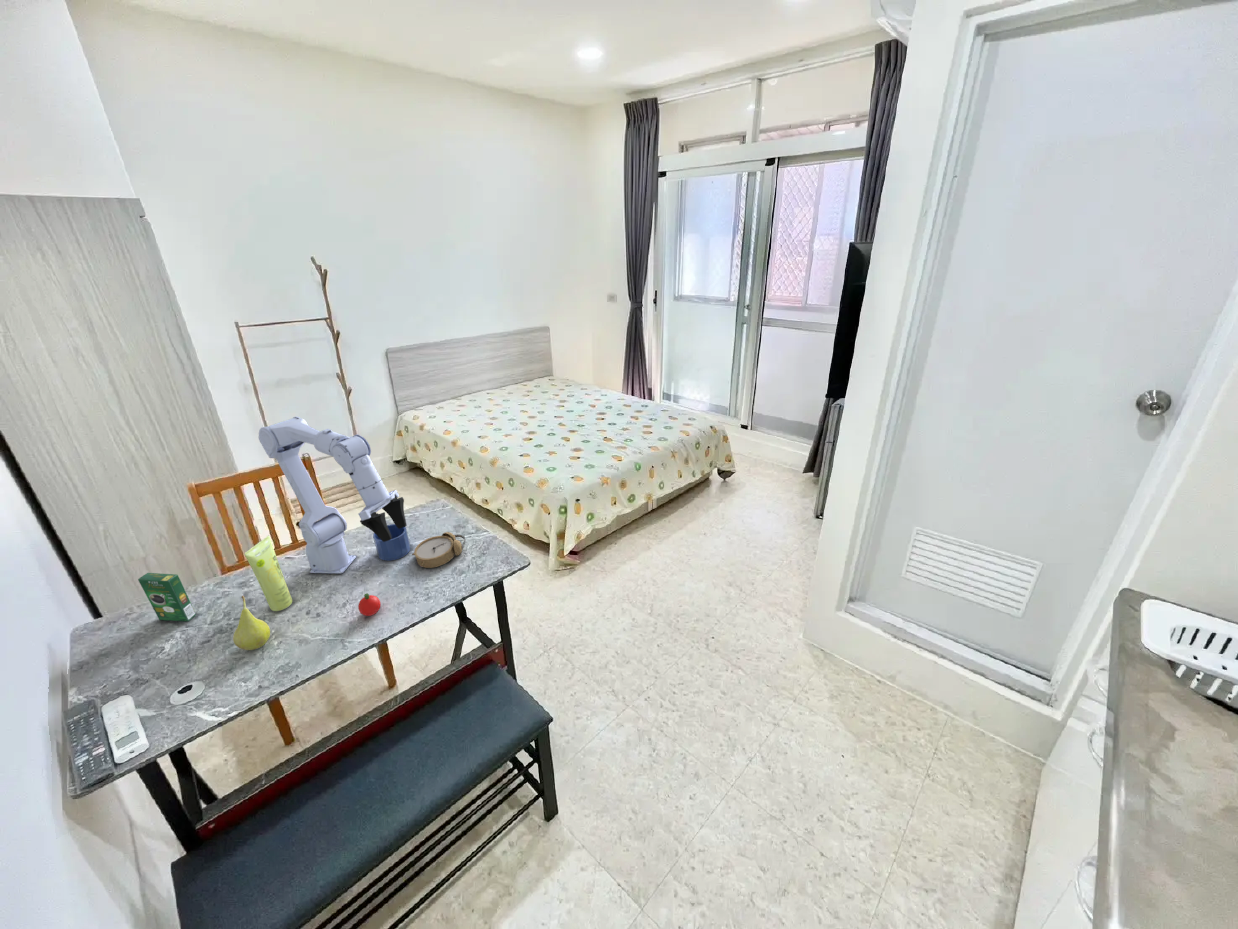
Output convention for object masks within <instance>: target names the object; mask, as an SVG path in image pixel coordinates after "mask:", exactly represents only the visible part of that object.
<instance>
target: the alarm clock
mask: <svg viewBox="0 0 1238 929" xmlns="http://www.w3.org/2000/svg"><path fill="white" fill-rule="evenodd" d="M457 538H459V539H460V538H461V539H463V542H462V543H461V541H460V540H459V539H457ZM466 543H467V541H466V537H465V536H464V535H463V534H453V532H450V531H445V532H442V534H441V535H436V536H435V535H434V536H430V537H428V538H426V539H424V540H422V541H421V542H419V544H417V545H416V547H415V548H414V551H413V553H411V556H414V557H415V559H416V562H417V565H418V566H420V567H422V568H425V569H432V568H433V569H434V568H437V567H440V566H443V565H445V564H447V563H448V562H450V561H451V560H452V559H453V558H454V557H455V556H459V555H461V554H462V552H463V549H464V548H465V545H466Z"/></svg>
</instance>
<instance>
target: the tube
mask: <svg viewBox="0 0 1238 929" xmlns="http://www.w3.org/2000/svg"><path fill="white" fill-rule="evenodd" d="M244 557H245V559H246V560H247V562H248V564H249V566H250V568H251V570H252V572H253V574H254V576H255V578H256V580H257V582H258V584H259V587H260V589H261V591H262V593H263V595H264V597H265V600H266V602H267V604H268V607H269V609H270V610H271V611H272V612H280V611H283V610H285V609H288V608H289V607H290V606H291V605H292V604H293V597H292V595H291V593H290V589H289V587H288V585H287V582H286V580H285V579H286V578H285V577H284V574H283V571H282V568H281V566H280V563H279V561H278V557H277V555H276V551H275V549H274V545H273V543H272V540H271V537H270V535H269V534H268V535H266V537H264V538H263V539H261V540H260V541H259V542H257V543H256V544H255V545H253V546H252V547H251V548H249V549H248V550H246V551H245V552H244Z"/></svg>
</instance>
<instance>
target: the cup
mask: <svg viewBox="0 0 1238 929" xmlns="http://www.w3.org/2000/svg"><path fill="white" fill-rule="evenodd" d="M387 526H388V529H389V531H390V533H391V537H392V539H391V540H388V541H385V542H383V541H382V540H381V539H380V538H379V537H378V536H377V535H376V534H375V533H374V532H373V535H372V539H373V542H374V547H375V549H376V554H377V556H378V558H379V559H380V560H382V561H387V562H388V561H396V560H399V559H401V558H404V557H406V556H407V555H408V554H409V553H410V552H411V543H410V539H409V535H408V530H407V526H406V527H403V528H400V529H398V528H397V526H396V525H395V523H390V524H387Z"/></svg>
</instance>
